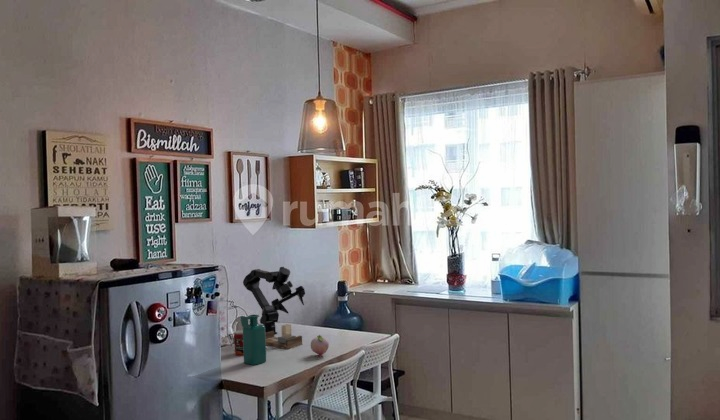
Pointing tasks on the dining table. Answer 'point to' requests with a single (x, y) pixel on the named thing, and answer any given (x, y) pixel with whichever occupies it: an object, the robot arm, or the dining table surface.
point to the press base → (289, 343)
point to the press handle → (285, 333)
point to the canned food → (238, 342)
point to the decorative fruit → (319, 345)
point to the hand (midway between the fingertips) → (295, 308)
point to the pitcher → (253, 340)
